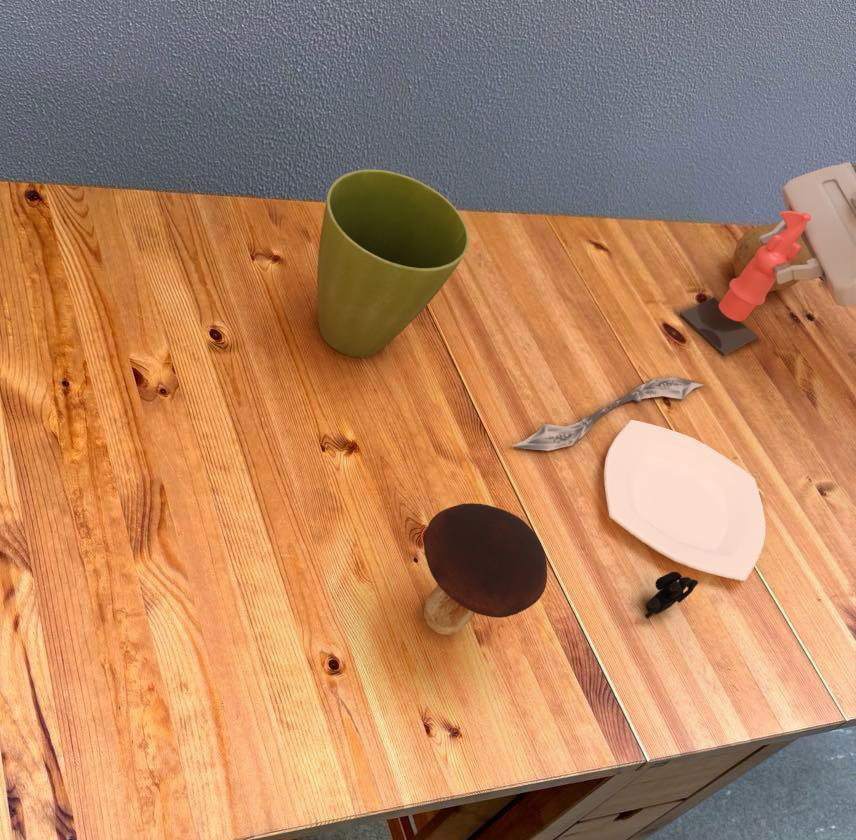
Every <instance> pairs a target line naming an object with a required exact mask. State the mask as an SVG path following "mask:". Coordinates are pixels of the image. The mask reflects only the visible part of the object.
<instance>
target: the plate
mask: <svg viewBox="0 0 856 840" xmlns="http://www.w3.org/2000/svg"><path fill="white" fill-rule="evenodd" d="M603 483H604V484H603V485H604V486H603V487H604V492H605V499H606V506H607V512H608V517H609V519H611V520H612V521H614V523H616V524H618V525H619V526H620V527H621V528H623V529H624V530H626V531H627V532H628V533H630V535H632V536H634V537H635V538H636V539H638V540H639V541H640V542H642V543H643V544H645V545H646V546H648V547H649V548H651V549H652V550H654V551H655V552H657V553H659V554H661V555H662V556H664V557H666V558H668V559H670V560H671V561H673V562H675V563H677V564H680V565H683V566H686V567H688V568H690V569H693V570H697V571H700V572H702V573H706V574H710V575H714V576H718V577H721V578H725V579H731V580H735V581H740V582H746V581H747V579H748V578H749V577H750V575H751V573H752V571H753V569H754V568H755V566H756V564H757V563H758V561H759V559H760V557H761V553H762V551H763V548H764V545H765V540H766V518H765V512H764V507H763V503H762V498H761V495H760V491H759V488H758V484H757V481H756V478H755V476H753V475H751V474H750V473H748V472H747V471H746V470H744V469H743V468H742V467H740V466H739V465H738V464H737V463H734V462H733V461H732V460H730V459H729V458H727V457H726V456H724V455H723V454H721V453H720V452H718V451H717V450H715V449H714V448H712V447H710V446H708V445H707V444H705V443H704V442H701V441H700V440H698V439H697V438H694V437H691V436H689V435H686V434H684V433H681V432H678V431H676V430H672V429H669V428H665V427H663V426H659V425H656V424H652V423H648V422H644V421H639V420H634V419H630V420H629V421H628V422H627V423H626V425H624V427H623V428H622V429H621V430H620V432H619V433H618V434H617V435H616V437H614V439H613V441H612V443H611V445H610V446H609V448H608V451H607V454H606V457H605V461H604V469H603Z"/></svg>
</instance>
